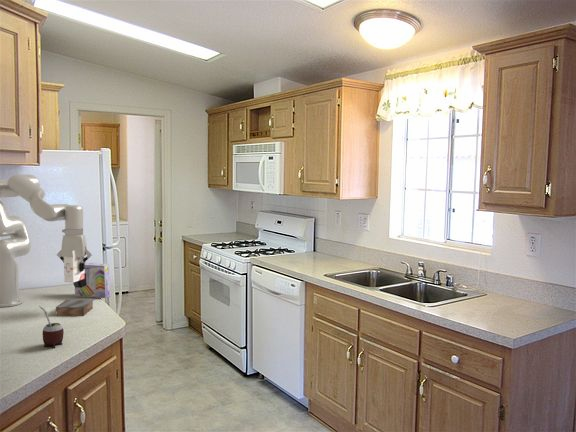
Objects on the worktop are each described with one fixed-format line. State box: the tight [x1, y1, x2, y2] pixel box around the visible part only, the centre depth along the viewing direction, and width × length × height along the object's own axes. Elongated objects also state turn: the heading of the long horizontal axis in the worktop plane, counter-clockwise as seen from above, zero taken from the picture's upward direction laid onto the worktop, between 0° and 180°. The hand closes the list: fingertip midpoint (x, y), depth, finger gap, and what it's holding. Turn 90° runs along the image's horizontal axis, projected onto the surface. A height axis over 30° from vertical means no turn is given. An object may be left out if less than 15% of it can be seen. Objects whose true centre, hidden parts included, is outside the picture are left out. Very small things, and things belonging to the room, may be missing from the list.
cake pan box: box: [72, 261, 111, 299], centre depth 245 cm, size 19×5×18 cm, turn 77°
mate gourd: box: [38, 305, 65, 349], centre depth 176 cm, size 8×8×15 cm
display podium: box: [55, 299, 94, 317], centre depth 219 cm, size 12×12×4 cm
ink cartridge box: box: [63, 250, 85, 284], centre depth 217 cm, size 9×5×15 cm, turn 169°
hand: (74, 270), depth 217 cm, fingers closed on ink cartridge box, 5 cm apart
